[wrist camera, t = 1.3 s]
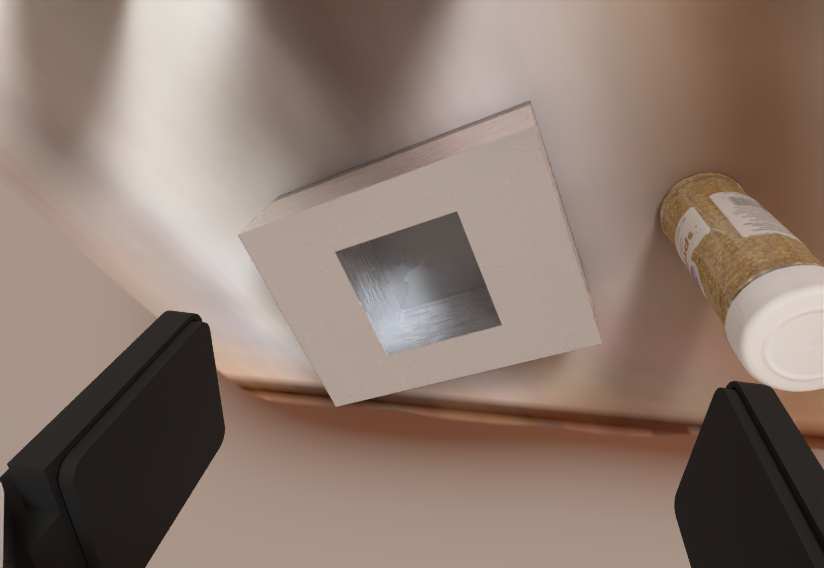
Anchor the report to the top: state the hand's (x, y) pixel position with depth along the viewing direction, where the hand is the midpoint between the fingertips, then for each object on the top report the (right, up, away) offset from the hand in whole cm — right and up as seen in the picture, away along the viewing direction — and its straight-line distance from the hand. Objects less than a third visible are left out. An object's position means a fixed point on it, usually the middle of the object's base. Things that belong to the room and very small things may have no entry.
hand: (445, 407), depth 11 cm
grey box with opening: (+1, +5, +24) cm, 25 cm away
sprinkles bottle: (+16, +7, +21) cm, 27 cm away
